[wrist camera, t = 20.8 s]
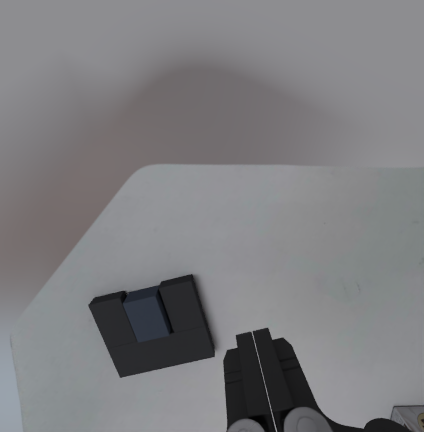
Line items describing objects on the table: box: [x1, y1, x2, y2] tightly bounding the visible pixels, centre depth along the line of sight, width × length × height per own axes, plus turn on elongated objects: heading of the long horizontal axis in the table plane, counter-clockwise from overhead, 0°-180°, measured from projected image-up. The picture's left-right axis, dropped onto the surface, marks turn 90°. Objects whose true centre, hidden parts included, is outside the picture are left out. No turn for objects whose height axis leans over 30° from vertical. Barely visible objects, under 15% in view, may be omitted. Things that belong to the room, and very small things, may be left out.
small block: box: [123, 285, 172, 343], centre depth 37 cm, size 7×5×3 cm
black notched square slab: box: [89, 274, 215, 378], centre depth 39 cm, size 14×16×2 cm
